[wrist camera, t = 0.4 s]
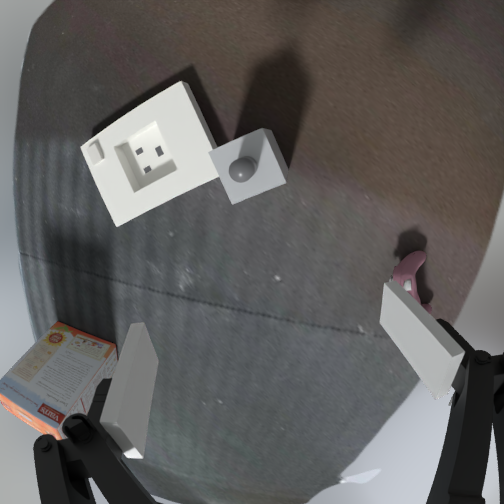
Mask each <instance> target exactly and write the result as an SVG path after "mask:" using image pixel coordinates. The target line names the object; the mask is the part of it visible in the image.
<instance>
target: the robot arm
mask: <svg viewBox="0 0 504 504" xmlns="http://www.w3.org/2000/svg"><path fill="white" fill-rule="evenodd" d="M380 324H381V325H382V327H383V328H384V329H385V331H386V332H387V333H388V335H389V336H390V337H391V339H392V340H393V341H394V343H395V344H396V345H397V347H398V348H399V349H400V351H401V352H402V353H403V355H404V356H405V358H406V359H407V360H408V362H409V363H410V364H411V366H412V367H413V369H414V370H415V371H416V373H417V374H418V376H419V377H420V378H421V380H422V381H423V382H424V384H425V385H426V387H427V388H428V390H429V391H430V393H431V394H432V396H433V397H434V399H435V400H436V399H438V398H441V397H443V396H445V395H447V394H448V392H449V390H450V388H451V386H452V387H453V388H454V389H455V392H454V394H453V396H452V398H451V400H450V402H449V406H450V405H451V403H452V405H451V411H450V417H449V422H448V427H447V432H446V436H445V441H444V445H443V449H442V453H441V457H440V461H439V464H438V468H437V471H436V475H435V478H434V481H433V484H432V487H431V491H430V493H429V496H428V499H427V502H426V504H485V499H484V498H483V497H482V490H483V485H484V480H485V475H486V469H487V463H488V456H489V449H490V441H491V431H492V423H493V429H494V436H495V443H496V451H497V460H498V471H499V487H500V504H504V352H503V354H502V355H496V356H491V355H490V354H489V353H488V352H486V351H483V350H476V351H475V350H474V349H473V348H472V346H471V345H469V343H468V342H467V341H466V340H465V339H464V338H463V337H462V336H461V335H459V333H458V332H457V331H456V330H454V328H453V327H452V326H451V325H450V324H449V323H448V322H446V321H444V320H442V319H437V320H435V319H434V318H433V317H432V316H431V315H430V314H429V313H428V312H427V311H426V310H425V309H424V308H423V307H422V306H421V305H420V304H419V303H418V302H417V301H416V300H415V299H414V298H413V297H412V296H411V295H410V294H409V293H408V292H407V291H406V290H405V289H404V288H403V287H402V286H401V285H400V284H399V283H398V282H397V281H396V280H395V281H391V282H386V283H384V290H383V299H382V308H381V316H380ZM158 362H159V360H158V358H157V355H156V353H155V350H154V348H153V345H152V342H151V340H150V337H149V334H148V332H147V329H146V326H145V323H144V322H143V323H134V324H131V325H130V328H129V331H128V334H127V337H126V339H125V342H124V345H123V348H122V351H121V354H120V357H119V360H118V363H117V366H116V369H115V372H114V375H113V378H103V380H102V381H101V382H100V383H99V384H98V386H97V388H96V391H95V394H94V396H93V399H92V403H91V405H90V409H89V412H88V415H87V416H86V415H85V414H82V413H75V414H72V415H70V416H69V417H67V418H66V419H65V421H64V422H63V425H62V431H63V433H64V434H65V435H66V437H67V438H66V439H61V440H57V439H56V438H55V437H54V436H53V435H50V434H44V435H42V436H40V437H39V438H38V439H36V441H35V443H34V447H33V450H34V460H35V468H36V475H37V482H38V488H39V494H40V499H41V504H96V502H95V499H94V496H93V493H92V490H91V486H90V483H89V479H88V478H91V477H92V478H93V480H94V481H95V483H96V485H97V486H98V488H99V489H100V491H101V492H102V494H103V495H104V497H105V498H106V499H107V501H108V503H109V504H158V503H157V502H156V501H155V500H154V498H153V497H152V496H151V495H150V494H149V493H148V492H147V490H146V489H145V488H144V487H143V486H142V484H141V483H140V482H139V481H138V480H137V478H136V477H135V476H134V475H133V473H132V472H131V471H130V470H129V468H128V467H127V466H126V464H125V463H124V462H123V460H122V459H121V456H122V452H123V453H124V454H125V455H126V457H127V458H143V457H144V450H145V442H146V435H147V428H148V421H149V414H150V408H151V402H152V396H153V390H154V384H155V378H156V373H157V367H158Z"/></svg>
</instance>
